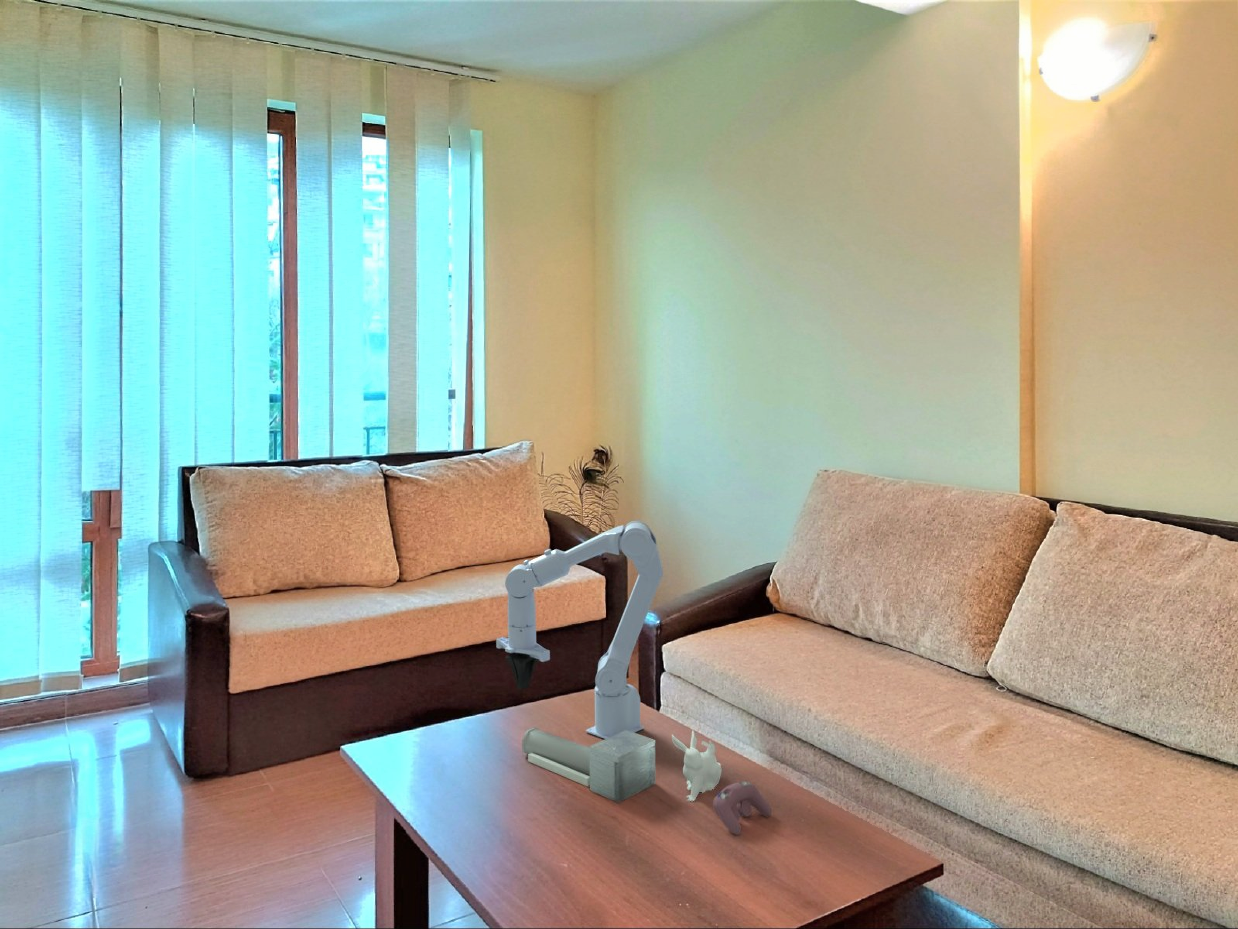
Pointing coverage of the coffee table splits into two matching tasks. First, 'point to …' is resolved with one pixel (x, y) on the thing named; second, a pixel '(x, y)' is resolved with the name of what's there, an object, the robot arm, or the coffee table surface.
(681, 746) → the rabbit figurine
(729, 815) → the video game controller
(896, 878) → the coffee table surface
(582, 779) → the rails
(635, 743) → the socket
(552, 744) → the tube
